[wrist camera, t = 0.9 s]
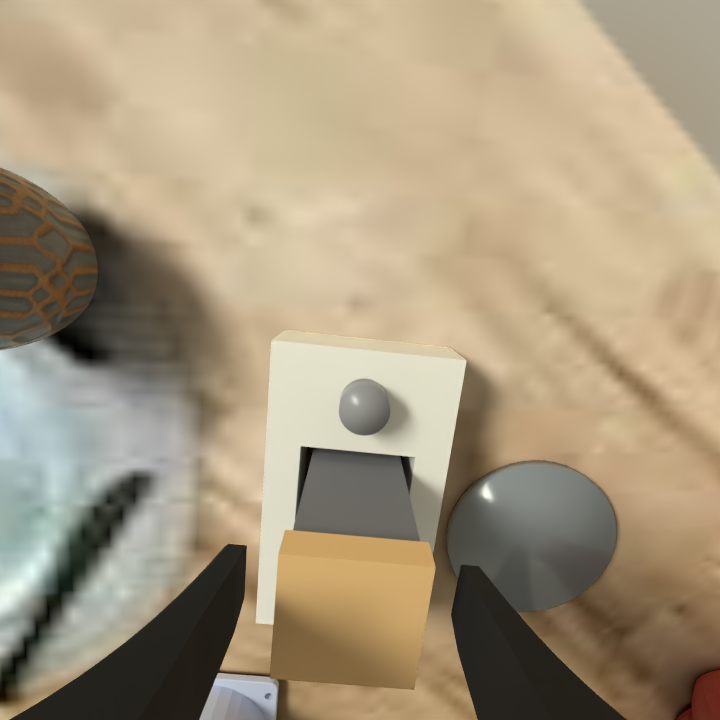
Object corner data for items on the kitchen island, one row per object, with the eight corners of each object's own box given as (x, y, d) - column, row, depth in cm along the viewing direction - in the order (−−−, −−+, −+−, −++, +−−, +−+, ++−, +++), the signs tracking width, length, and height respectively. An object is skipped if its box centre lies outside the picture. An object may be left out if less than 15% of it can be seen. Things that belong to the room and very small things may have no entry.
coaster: (587, 608, 22) (593, 618, 21) (434, 596, 21) (436, 604, 21) (628, 468, 20) (636, 474, 19) (460, 452, 19) (463, 458, 19)
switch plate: (410, 586, 21) (422, 661, 17) (269, 574, 21) (248, 647, 17) (449, 346, 18) (475, 367, 14) (285, 329, 18) (264, 345, 14)
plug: (389, 509, 20) (413, 689, 11) (308, 501, 20) (269, 678, 11) (399, 434, 19) (435, 567, 10) (315, 425, 19) (278, 553, 10)
